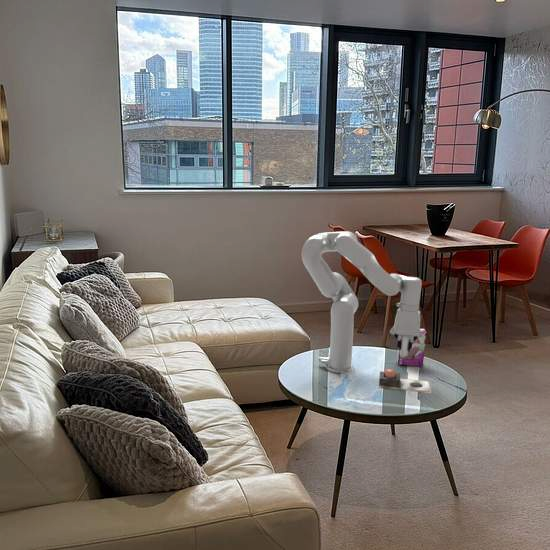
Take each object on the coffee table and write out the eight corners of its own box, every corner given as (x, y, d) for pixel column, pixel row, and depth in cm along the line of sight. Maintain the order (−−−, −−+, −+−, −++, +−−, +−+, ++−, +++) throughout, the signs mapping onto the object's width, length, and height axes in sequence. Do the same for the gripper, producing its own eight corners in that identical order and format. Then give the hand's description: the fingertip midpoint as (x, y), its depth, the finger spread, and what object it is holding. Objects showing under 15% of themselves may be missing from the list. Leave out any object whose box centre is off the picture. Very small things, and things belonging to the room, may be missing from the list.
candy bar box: (397, 365, 257) (400, 330, 254) (396, 361, 262) (399, 326, 258) (423, 367, 256) (426, 331, 253) (421, 363, 261) (424, 328, 257)
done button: (384, 380, 232) (385, 372, 231) (384, 376, 236) (385, 368, 235) (394, 381, 231) (395, 373, 230) (394, 377, 235) (395, 369, 234)
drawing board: (378, 389, 229) (379, 380, 228) (379, 378, 241) (380, 369, 240) (431, 395, 225) (432, 385, 224) (429, 383, 237) (429, 374, 236)
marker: (399, 355, 239) (402, 330, 237) (399, 352, 243) (402, 327, 240) (407, 356, 239) (410, 331, 237) (407, 353, 242) (410, 328, 240)
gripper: (388, 307, 234) (383, 350, 238) (430, 311, 231) (424, 355, 235) (388, 302, 242) (384, 344, 245) (429, 307, 239) (423, 349, 243)
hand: (404, 349), depth 240 cm, fingers closed on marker, 3 cm apart
